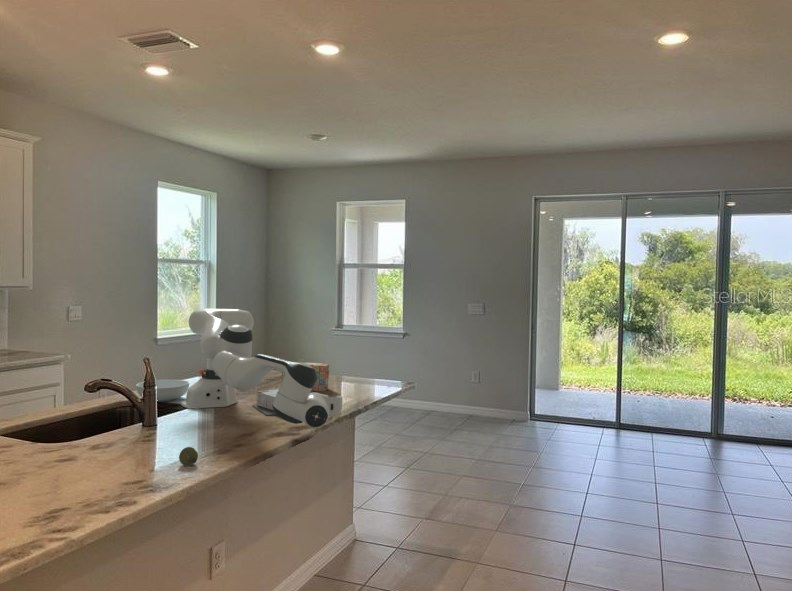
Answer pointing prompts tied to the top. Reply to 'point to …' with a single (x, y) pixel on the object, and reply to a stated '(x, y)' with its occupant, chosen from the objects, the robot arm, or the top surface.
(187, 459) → the lime
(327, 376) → the stack of blocks
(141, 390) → the serving bowl
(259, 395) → the cracker box
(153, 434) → the top surface
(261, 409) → the mat
